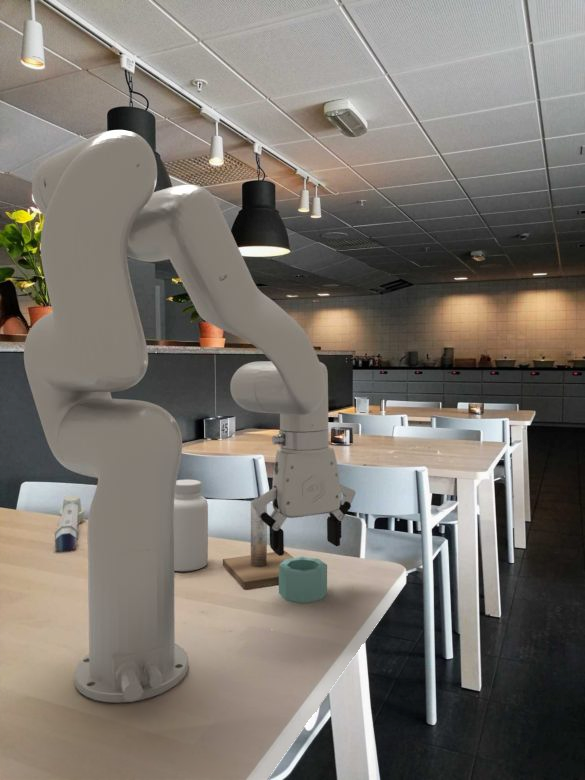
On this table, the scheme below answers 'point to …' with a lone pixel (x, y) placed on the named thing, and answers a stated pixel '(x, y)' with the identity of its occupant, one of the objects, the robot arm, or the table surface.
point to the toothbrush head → (69, 524)
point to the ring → (302, 579)
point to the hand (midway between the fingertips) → (306, 548)
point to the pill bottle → (190, 526)
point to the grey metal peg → (258, 539)
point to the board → (255, 570)
